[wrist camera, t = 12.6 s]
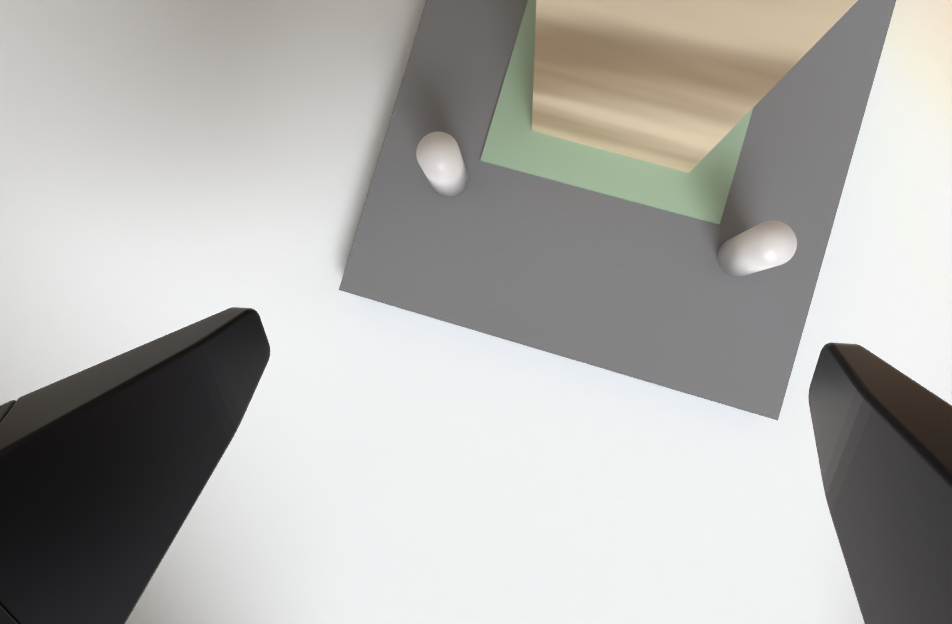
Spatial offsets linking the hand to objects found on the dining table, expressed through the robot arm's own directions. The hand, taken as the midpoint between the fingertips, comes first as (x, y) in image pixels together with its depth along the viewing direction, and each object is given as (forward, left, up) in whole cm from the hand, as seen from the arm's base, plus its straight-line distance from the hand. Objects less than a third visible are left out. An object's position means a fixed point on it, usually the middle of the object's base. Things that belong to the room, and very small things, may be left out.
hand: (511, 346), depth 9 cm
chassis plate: (+9, -1, -10) cm, 13 cm away
